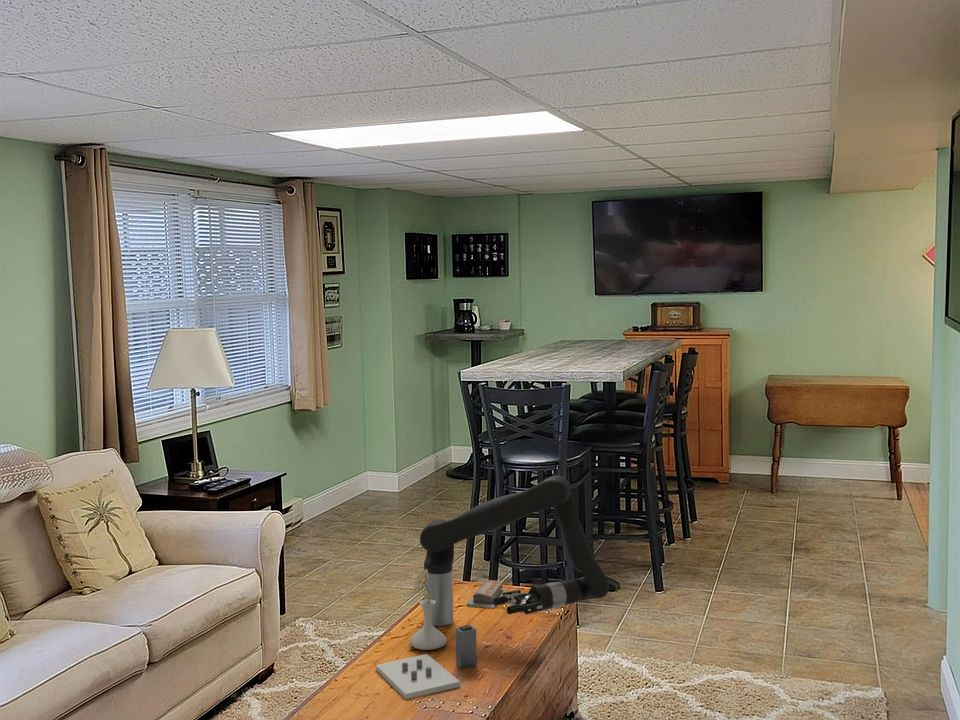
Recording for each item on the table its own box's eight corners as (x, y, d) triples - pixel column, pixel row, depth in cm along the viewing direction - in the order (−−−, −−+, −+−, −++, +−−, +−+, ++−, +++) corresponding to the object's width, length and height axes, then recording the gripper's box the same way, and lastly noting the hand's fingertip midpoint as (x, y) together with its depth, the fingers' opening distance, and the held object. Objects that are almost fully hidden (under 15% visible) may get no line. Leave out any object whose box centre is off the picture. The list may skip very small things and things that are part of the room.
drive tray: (375, 669, 270) (375, 658, 270) (427, 659, 278) (426, 647, 277) (405, 699, 251) (405, 686, 251) (459, 686, 258) (459, 674, 258)
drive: (456, 665, 273) (455, 626, 272) (471, 661, 275) (471, 623, 274) (461, 669, 270) (460, 630, 269) (476, 665, 272) (476, 627, 271)
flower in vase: (411, 639, 293) (409, 560, 291) (448, 639, 293) (446, 560, 291) (407, 655, 280) (405, 573, 278) (445, 655, 280) (443, 573, 278)
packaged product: (480, 577, 339) (507, 580, 336) (481, 591, 339) (507, 593, 337) (465, 593, 322) (494, 596, 319) (466, 607, 322) (494, 610, 319)
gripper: (535, 578, 290) (488, 587, 282) (560, 590, 277) (511, 600, 270) (535, 601, 290) (489, 611, 283) (560, 615, 277) (512, 626, 270)
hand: (500, 606), depth 276 cm, fingers open, 8 cm apart
